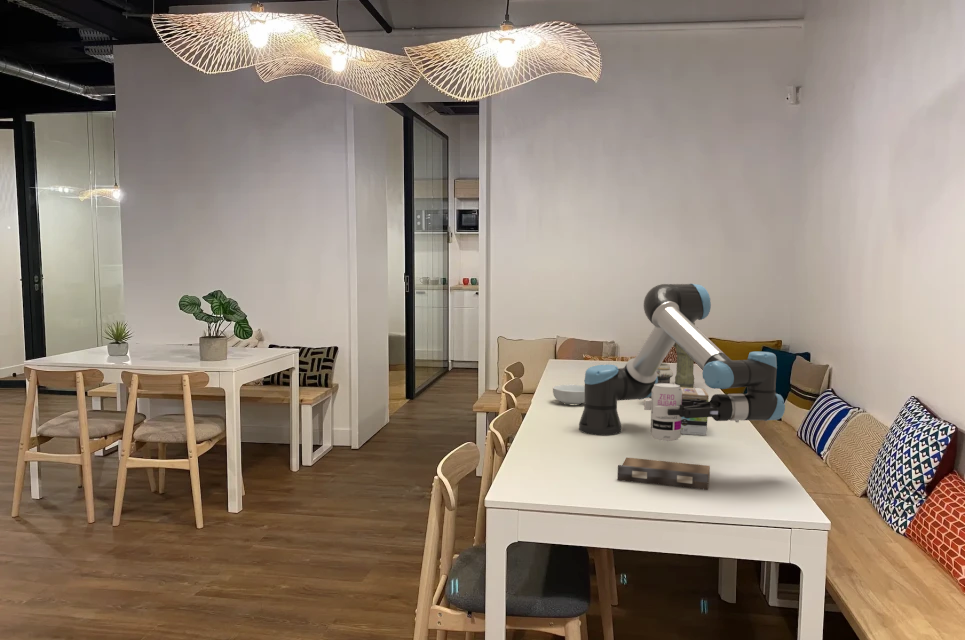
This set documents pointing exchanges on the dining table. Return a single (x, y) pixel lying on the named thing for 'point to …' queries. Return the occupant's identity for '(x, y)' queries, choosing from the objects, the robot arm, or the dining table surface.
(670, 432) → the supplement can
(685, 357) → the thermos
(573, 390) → the cereal bowl
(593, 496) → the dining table surface
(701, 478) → the shelf
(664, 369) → the apothecary jar
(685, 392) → the tea box
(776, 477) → the dining table surface
